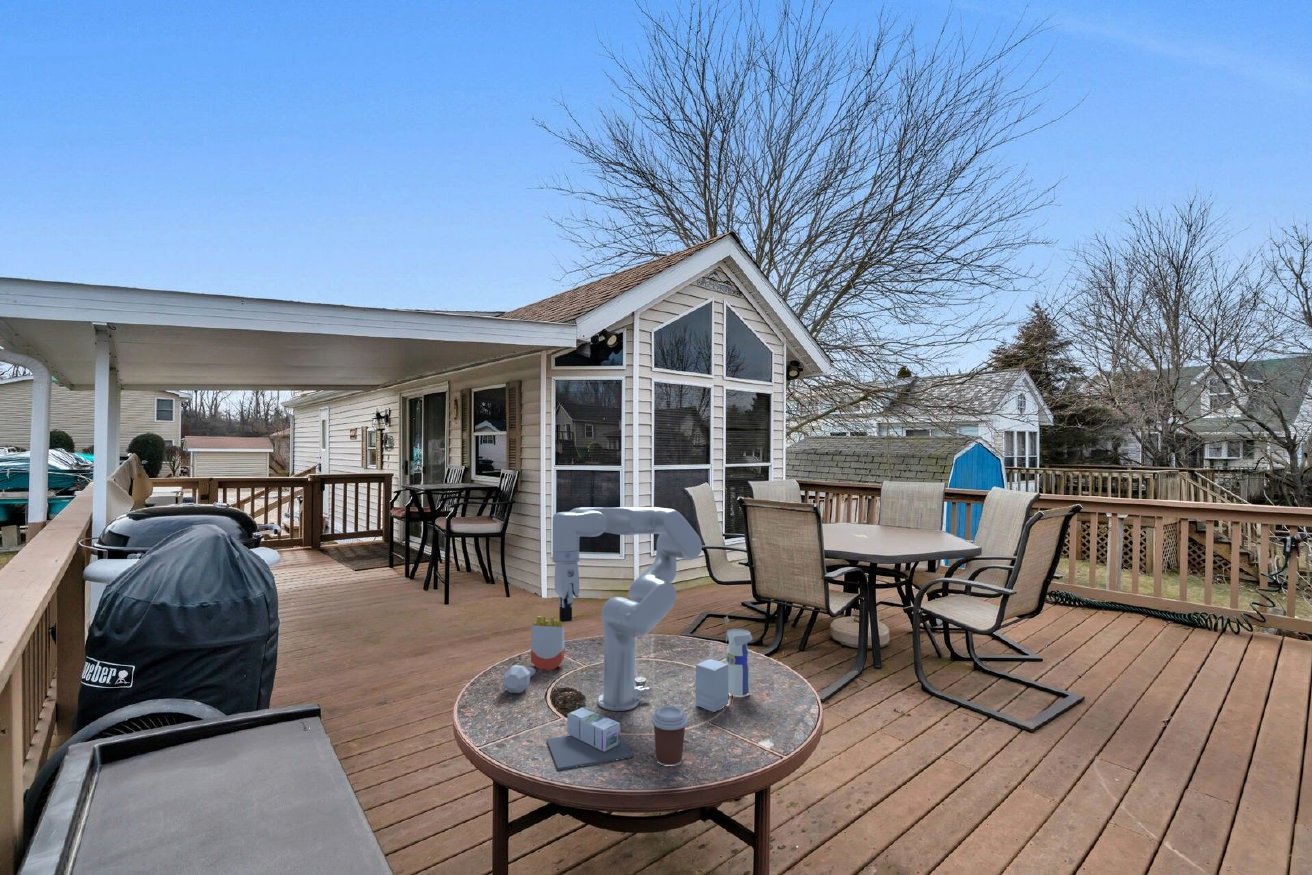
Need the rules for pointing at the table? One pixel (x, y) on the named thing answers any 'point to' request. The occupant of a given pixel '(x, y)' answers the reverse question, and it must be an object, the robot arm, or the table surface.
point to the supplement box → (711, 684)
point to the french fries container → (547, 643)
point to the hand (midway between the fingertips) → (565, 620)
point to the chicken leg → (517, 678)
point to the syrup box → (593, 729)
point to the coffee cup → (669, 734)
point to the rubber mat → (583, 752)
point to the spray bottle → (738, 660)
